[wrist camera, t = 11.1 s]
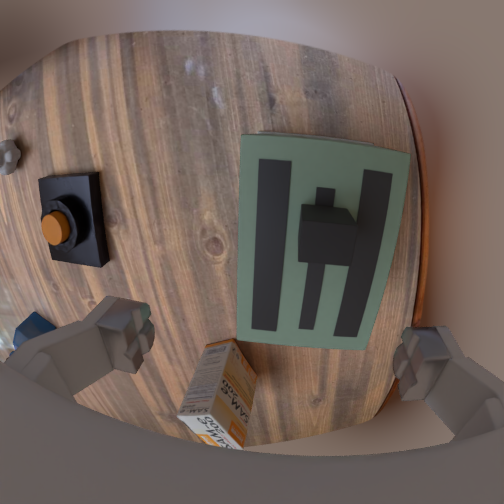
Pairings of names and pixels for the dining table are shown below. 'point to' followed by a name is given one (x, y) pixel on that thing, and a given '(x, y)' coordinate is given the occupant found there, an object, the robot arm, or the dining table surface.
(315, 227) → the block
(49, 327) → the perfume bottle
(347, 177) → the toaster
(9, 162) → the grey rounded figurine
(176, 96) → the dining table surface
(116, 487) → the robot arm
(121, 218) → the dining table surface
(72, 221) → the button block
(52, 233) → the button
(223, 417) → the supplement box
